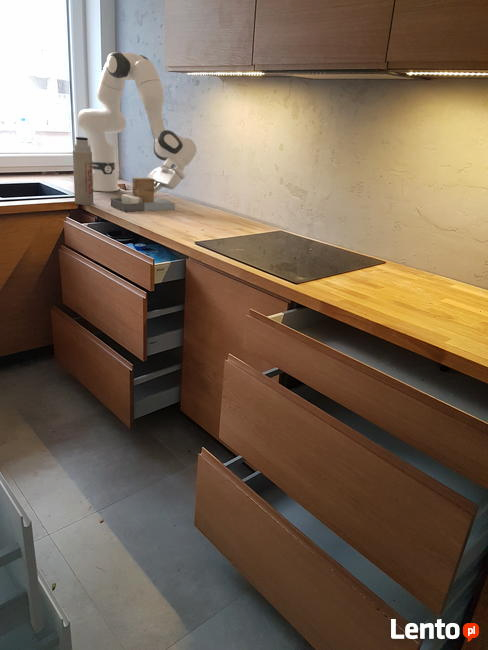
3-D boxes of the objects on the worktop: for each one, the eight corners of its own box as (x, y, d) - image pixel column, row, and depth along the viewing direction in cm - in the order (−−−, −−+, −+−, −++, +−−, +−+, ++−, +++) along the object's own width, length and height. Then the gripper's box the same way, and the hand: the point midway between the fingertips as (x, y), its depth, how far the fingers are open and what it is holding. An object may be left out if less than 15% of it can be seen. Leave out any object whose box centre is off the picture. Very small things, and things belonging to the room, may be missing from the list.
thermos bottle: (97, 203, 224) (95, 138, 213) (82, 205, 218) (79, 137, 207) (86, 200, 228) (84, 136, 217) (71, 202, 222) (68, 136, 211)
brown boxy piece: (126, 199, 225) (126, 176, 221) (144, 198, 230) (144, 176, 226) (139, 204, 216) (140, 180, 213) (157, 203, 222) (158, 180, 218)
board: (130, 205, 227) (130, 199, 226) (160, 204, 237) (161, 198, 236) (143, 210, 219) (144, 204, 218) (174, 209, 229) (174, 202, 228)
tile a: (126, 205, 225) (121, 205, 223) (126, 194, 223) (121, 194, 221) (131, 207, 222) (126, 207, 220) (132, 196, 220) (126, 196, 218)
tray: (110, 206, 222) (110, 198, 220) (129, 205, 228) (129, 197, 226) (124, 212, 213) (124, 204, 211) (144, 211, 218) (144, 203, 217)
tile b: (133, 207, 221) (128, 207, 220) (133, 196, 219) (128, 196, 218) (139, 209, 218) (134, 210, 216) (139, 198, 216) (133, 198, 214)
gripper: (155, 161, 232) (136, 182, 230) (179, 167, 218) (159, 190, 216) (163, 171, 236) (145, 192, 234) (187, 177, 223) (168, 200, 220)
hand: (152, 191), depth 225 cm, fingers closed, pressing on brown boxy piece
